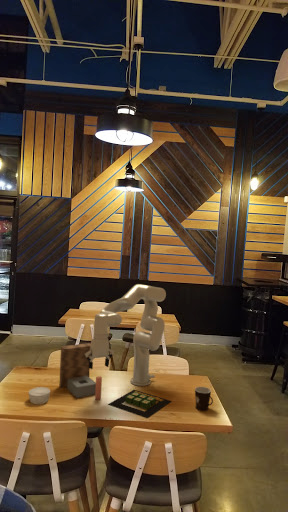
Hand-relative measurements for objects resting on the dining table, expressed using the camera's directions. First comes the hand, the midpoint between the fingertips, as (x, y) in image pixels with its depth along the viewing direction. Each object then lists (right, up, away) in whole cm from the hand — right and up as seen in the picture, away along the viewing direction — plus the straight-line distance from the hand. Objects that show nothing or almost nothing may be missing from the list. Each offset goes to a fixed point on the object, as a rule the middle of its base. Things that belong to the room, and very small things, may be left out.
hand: (98, 367), depth 206 cm
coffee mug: (+56, -21, -6) cm, 60 cm away
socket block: (-11, -17, +10) cm, 22 cm away
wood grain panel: (-16, -16, +17) cm, 29 cm away
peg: (0, -18, +1) cm, 18 cm away
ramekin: (-31, -17, -5) cm, 36 cm away
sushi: (+23, -20, -2) cm, 30 cm away
